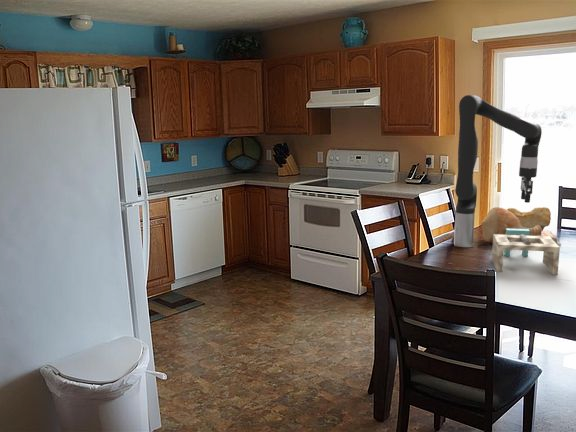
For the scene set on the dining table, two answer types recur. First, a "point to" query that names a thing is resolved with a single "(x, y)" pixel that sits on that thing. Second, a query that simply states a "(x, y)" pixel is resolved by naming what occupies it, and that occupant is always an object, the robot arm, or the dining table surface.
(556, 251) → the shelf
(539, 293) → the dining table surface
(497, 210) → the orange-brown rounded sculpted piece
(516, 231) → the teal arch block
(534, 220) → the rough brown rock
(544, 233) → the packaged product
